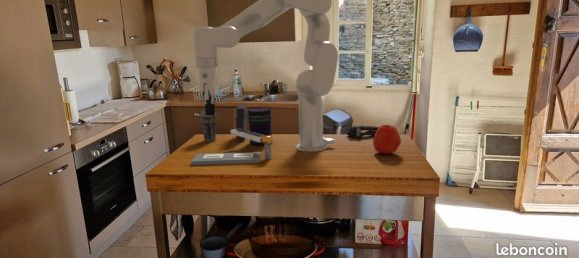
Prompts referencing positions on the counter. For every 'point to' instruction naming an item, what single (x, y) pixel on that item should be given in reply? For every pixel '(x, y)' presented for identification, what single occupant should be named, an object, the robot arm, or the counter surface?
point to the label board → (231, 157)
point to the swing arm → (252, 136)
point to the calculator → (241, 119)
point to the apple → (386, 139)
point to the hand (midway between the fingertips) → (210, 114)
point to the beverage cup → (208, 126)
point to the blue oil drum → (259, 123)
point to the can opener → (356, 130)
